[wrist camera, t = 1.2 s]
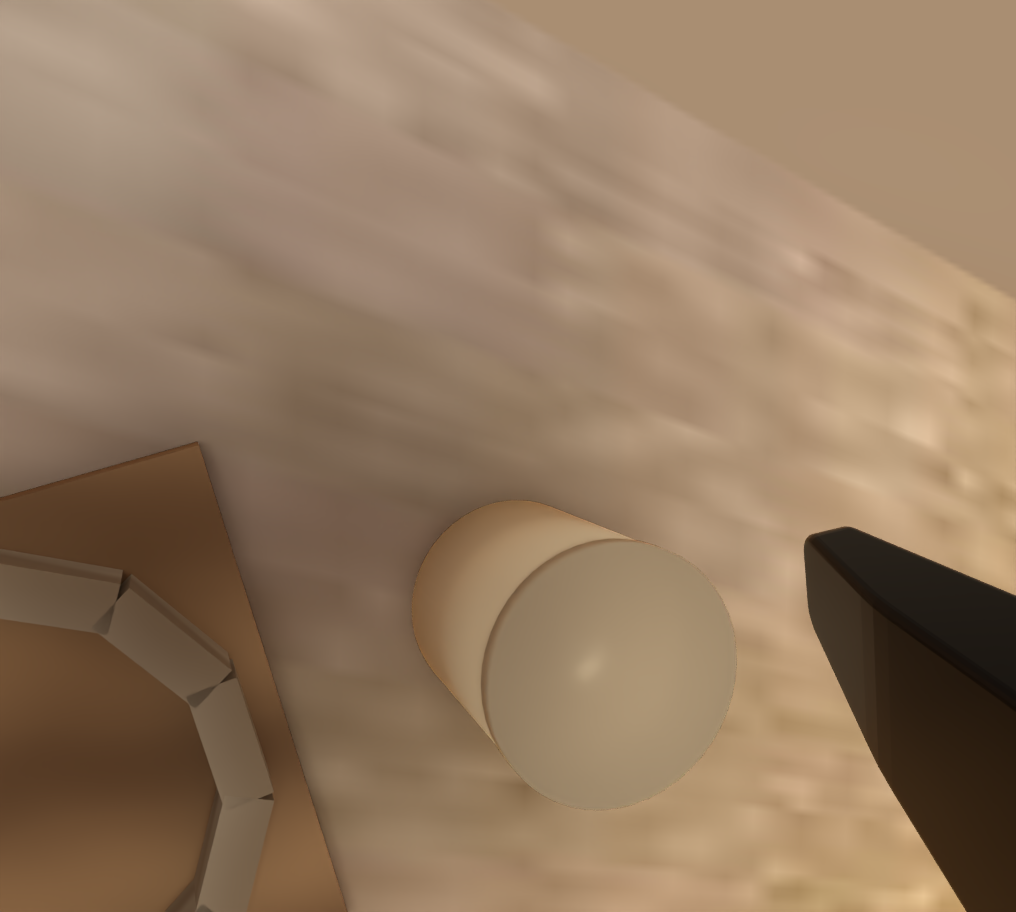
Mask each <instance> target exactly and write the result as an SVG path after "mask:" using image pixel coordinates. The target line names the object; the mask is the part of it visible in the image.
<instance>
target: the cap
mask: <svg viewBox="0 0 1016 912" xmlns="http://www.w3.org/2000/svg"><path fill="white" fill-rule="evenodd" d="M412 624H413V629H414V634H415V638H416V641H417V644H418V646H419V649H420V651H421V653H422V655H423V657H424V659H425V661H426V662H427V664H428V665H429V666H430V668H431V669H432V671H433V672H434V673H435V674H436V675H437V677H438V678H439V679H440V680H441V681H442V682H443V684H444V685H445V686H446V687H447V688H448V690H449V691H450V692H451V693H452V694H453V695H454V697H455V698H456V699H457V700H458V701H459V702H460V704H461V705H462V706H463V707H464V708H465V709H466V711H467V712H468V713H469V714H470V715H471V716H472V718H473V719H474V720H475V721H476V722H477V724H478V725H479V726H480V727H481V728H482V729H483V731H484V732H485V733H486V734H487V735H488V736H489V738H490V739H491V740H492V741H493V742H494V743H495V745H496V746H497V748H498V750H499V751H500V752H501V754H502V755H503V757H504V758H505V759H506V761H507V762H508V763H509V765H510V766H511V767H512V768H513V769H514V770H515V772H516V773H517V774H518V775H519V776H520V777H521V778H522V779H523V780H524V781H525V782H526V783H527V784H528V785H529V786H530V787H532V788H533V789H534V790H536V791H537V792H538V793H540V794H541V795H543V796H545V797H547V798H549V799H551V800H553V801H554V802H557V803H560V804H563V805H566V806H569V807H573V808H579V809H584V810H609V809H618V808H622V807H626V806H630V805H634V804H636V803H639V802H641V801H644V800H647V799H649V798H651V797H653V796H655V795H657V794H658V793H660V792H662V791H664V790H665V789H667V788H668V787H670V786H671V785H672V784H674V783H675V782H677V781H678V780H679V779H680V778H681V777H682V776H684V775H685V774H686V773H687V772H688V771H689V770H690V769H691V768H692V767H693V766H694V765H695V764H696V763H697V762H698V760H699V759H700V758H701V757H702V756H703V754H704V753H705V752H706V750H707V749H708V747H709V746H710V745H711V743H712V742H713V740H714V738H715V736H716V735H717V733H718V731H719V729H720V727H721V725H722V723H723V721H724V718H725V716H726V714H727V711H728V708H729V705H730V701H731V698H732V694H733V689H734V684H735V678H736V666H737V655H736V642H735V635H734V630H733V626H732V623H731V619H730V616H729V613H728V611H727V609H726V606H725V604H724V602H723V600H722V598H721V597H720V595H719V593H718V592H717V590H716V588H715V587H714V586H713V584H712V583H711V582H710V581H709V579H708V578H707V577H706V576H705V575H704V574H703V573H702V572H701V571H700V570H699V569H698V568H696V567H695V566H694V565H693V564H691V563H690V562H688V561H687V560H685V559H684V558H682V557H681V556H679V555H677V554H674V553H672V552H670V551H668V550H666V549H663V548H661V547H658V546H655V545H652V544H649V543H646V542H642V541H638V540H634V539H632V538H629V537H627V536H624V535H622V534H619V533H617V532H614V531H611V530H609V529H606V528H604V527H601V526H599V525H596V524H594V523H591V522H589V521H586V520H584V519H581V518H579V517H576V516H574V515H571V514H568V513H566V512H563V511H561V510H558V509H556V508H553V507H551V506H548V505H545V504H541V503H538V502H533V501H526V500H509V501H501V502H496V503H492V504H488V505H485V506H483V507H480V508H478V509H476V510H473V511H472V512H470V513H468V514H466V515H465V516H463V517H461V518H460V519H459V520H457V521H456V522H455V523H453V524H452V525H451V526H450V527H449V528H448V529H447V530H446V531H445V532H444V533H443V534H442V535H441V536H440V537H439V538H438V539H437V541H436V542H435V543H434V544H433V546H432V547H431V549H430V550H429V552H428V554H427V555H426V557H425V559H424V561H423V563H422V565H421V567H420V570H419V572H418V575H417V579H416V582H415V586H414V591H413V596H412Z"/></svg>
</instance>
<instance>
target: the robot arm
mask: <svg viewBox="0 0 1016 912" xmlns="http://www.w3.org/2000/svg"><path fill="white" fill-rule="evenodd" d="M804 560H805V573H806V586H807V599H808V609H809V614H810V618H811V621H812V624H813V627H814V630H815V632H816V634H817V636H818V639H819V641H820V643H821V645H822V647H823V649H824V652H825V654H826V656H827V658H828V660H829V662H830V665H831V667H832V669H833V671H834V673H835V675H836V677H837V680H838V682H839V684H840V686H841V688H842V690H843V693H844V695H845V697H846V699H847V701H848V703H849V706H850V708H851V710H852V712H853V714H854V716H855V718H856V721H857V723H858V725H859V727H860V729H861V731H862V734H863V736H864V738H865V740H866V742H867V744H868V746H869V748H870V751H871V753H872V755H873V757H874V759H875V761H876V763H877V765H878V767H879V769H880V770H881V772H882V774H883V776H884V777H885V779H886V781H887V783H888V784H889V786H890V788H891V790H892V791H893V793H894V794H895V796H896V798H897V799H898V801H899V803H900V804H901V806H902V807H903V809H904V811H905V812H906V814H907V816H908V817H909V819H910V821H911V822H912V824H913V825H914V827H915V829H916V830H917V832H918V834H919V835H920V837H921V838H922V840H923V842H924V843H925V845H926V847H927V848H928V850H929V851H930V853H931V855H932V856H933V858H934V860H935V861H936V863H937V864H938V866H939V868H940V869H941V871H942V873H943V874H944V876H945V877H946V879H947V881H948V882H949V884H950V886H951V887H952V889H953V890H954V892H955V894H956V895H957V897H958V899H959V900H960V902H961V904H962V905H963V907H964V908H965V910H966V912H1016V596H1015V595H1013V594H1011V593H1008V592H1006V591H1004V590H1001V589H999V588H996V587H994V586H992V585H989V584H987V583H984V582H982V581H980V580H977V579H975V578H972V577H970V576H968V575H965V574H963V573H960V572H958V571H956V570H953V569H951V568H949V567H946V566H944V565H941V564H939V563H937V562H934V561H932V560H929V559H927V558H925V557H922V556H920V555H917V554H915V553H913V552H910V551H908V550H905V549H903V548H901V547H898V546H896V545H894V544H891V543H889V542H886V541H884V540H882V539H879V538H877V537H874V536H872V535H870V534H867V533H865V532H862V531H860V530H858V529H855V528H852V527H840V528H836V529H832V530H828V531H823V532H819V533H815V534H812V535H809V537H808V538H807V539H806V540H805V544H804Z"/></svg>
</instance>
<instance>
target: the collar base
mask: <svg viewBox="0 0 1016 912" xmlns="http://www.w3.org/2000/svg"><path fill="white" fill-rule="evenodd" d="M0 912H347V909H346V906H345V903H344V900H343V897H342V893H341V890H340V887H339V884H338V881H337V878H336V875H335V871H334V868H333V865H332V862H331V859H330V856H329V853H328V849H327V846H326V843H325V840H324V837H323V834H322V831H321V827H320V824H319V821H318V818H317V815H316V812H315V809H314V805H313V802H312V799H311V796H310V793H309V790H308V787H307V783H306V780H305V777H304V774H303V771H302V768H301V765H300V761H299V758H298V755H297V752H296V749H295V746H294V743H293V739H292V736H291V733H290V730H289V727H288V724H287V721H286V717H285V714H284V711H283V708H282V705H281V702H280V699H279V695H278V692H277V689H276V686H275V683H274V680H273V677H272V673H271V670H270V667H269V664H268V661H267V658H266V655H265V651H264V648H263V645H262V642H261V639H260V636H259V632H258V629H257V626H256V623H255V620H254V617H253V614H252V610H251V607H250V604H249V601H248V598H247V595H246V592H245V588H244V585H243V582H242V579H241V576H240V573H239V570H238V566H237V563H236V560H235V557H234V554H233V551H232V548H231V544H230V541H229V538H228V535H227V532H226V529H225V526H224V522H223V519H222V516H221V513H220V510H219V507H218V504H217V500H216V497H215V494H214V491H213V488H212V485H211V482H210V478H209V475H208V472H207V469H206V466H205V463H204V460H203V456H202V453H201V450H200V447H199V444H198V442H194V443H191V444H187V445H184V446H180V447H177V448H173V449H170V450H166V451H163V452H159V453H156V454H152V455H149V456H145V457H142V458H138V459H135V460H131V461H128V462H124V463H121V464H117V465H114V466H110V467H107V468H103V469H99V470H96V471H92V472H89V473H85V474H82V475H78V476H75V477H71V478H68V479H64V480H61V481H57V482H54V483H50V484H47V485H43V486H40V487H36V488H33V489H29V490H26V491H22V492H19V493H15V494H12V495H8V496H5V497H1V498H0Z"/></svg>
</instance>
